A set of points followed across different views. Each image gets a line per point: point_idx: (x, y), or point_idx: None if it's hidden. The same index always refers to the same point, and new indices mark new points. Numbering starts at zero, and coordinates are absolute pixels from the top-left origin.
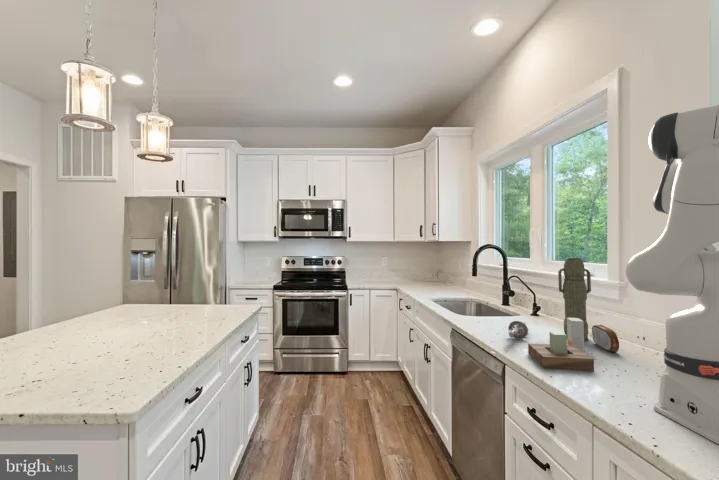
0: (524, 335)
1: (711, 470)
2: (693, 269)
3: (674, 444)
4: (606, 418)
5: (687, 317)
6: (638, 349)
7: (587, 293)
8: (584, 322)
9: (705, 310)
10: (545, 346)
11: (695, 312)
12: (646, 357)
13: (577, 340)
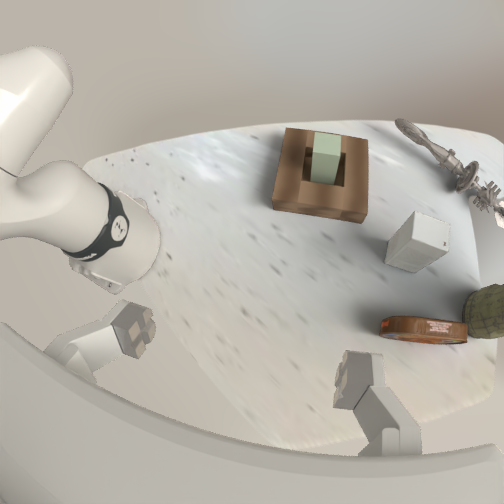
0: (458, 189)
1: None
2: None
3: (102, 174)
4: (144, 145)
5: (42, 166)
6: None
7: None
8: (489, 320)
9: (20, 177)
10: (350, 157)
11: (32, 173)
12: None
13: (395, 241)
